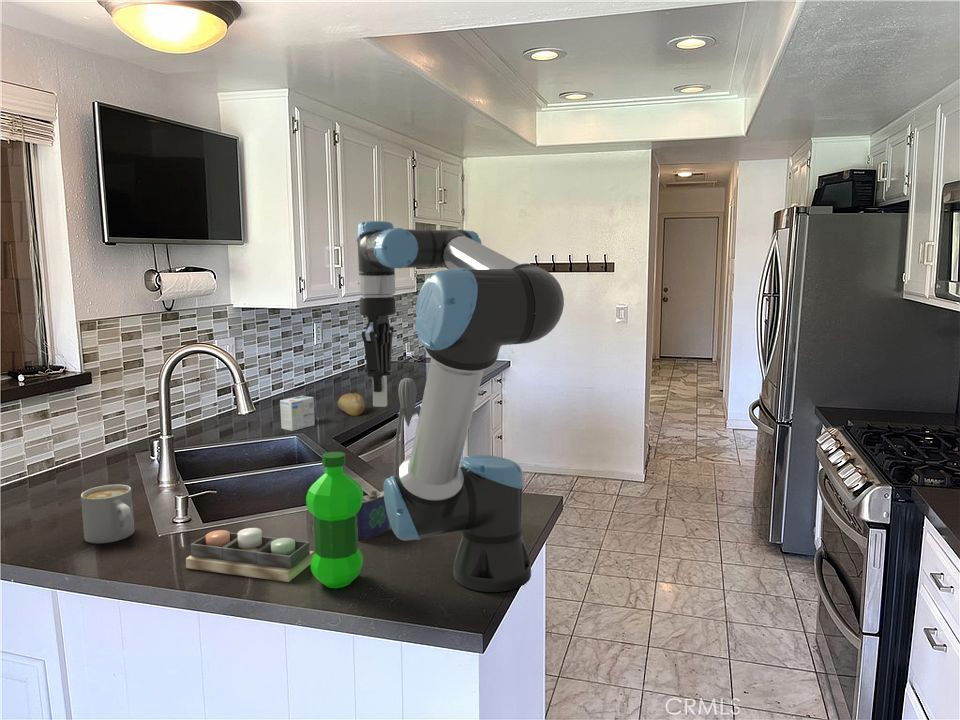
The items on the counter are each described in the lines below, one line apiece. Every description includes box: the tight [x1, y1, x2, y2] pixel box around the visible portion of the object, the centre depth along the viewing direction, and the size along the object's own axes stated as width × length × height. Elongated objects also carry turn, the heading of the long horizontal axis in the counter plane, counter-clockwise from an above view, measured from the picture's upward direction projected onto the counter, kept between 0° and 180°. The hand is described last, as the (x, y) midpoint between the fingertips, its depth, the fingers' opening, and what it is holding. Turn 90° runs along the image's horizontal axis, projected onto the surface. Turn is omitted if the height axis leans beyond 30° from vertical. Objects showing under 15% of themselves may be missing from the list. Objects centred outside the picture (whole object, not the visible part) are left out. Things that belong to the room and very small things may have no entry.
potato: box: [337, 392, 366, 417], centre depth 280 cm, size 10×15×8 cm, turn 33°
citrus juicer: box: [393, 377, 421, 477], centre depth 186 cm, size 11×10×30 cm
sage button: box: [271, 537, 296, 556], centre depth 139 cm, size 5×5×2 cm
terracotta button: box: [205, 529, 231, 547], centre depth 143 cm, size 5×5×2 cm
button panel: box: [185, 530, 315, 583], centre depth 142 cm, size 23×10×4 cm, turn 74°
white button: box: [236, 527, 263, 549], centre depth 141 cm, size 5×5×2 cm
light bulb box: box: [279, 395, 316, 432], centre depth 257 cm, size 11×7×11 cm, turn 144°
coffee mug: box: [80, 484, 135, 544], centre depth 156 cm, size 13×10×10 cm
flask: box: [357, 488, 391, 543], centre depth 156 cm, size 9×3×11 cm, turn 144°
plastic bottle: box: [305, 451, 364, 589], centre depth 132 cm, size 10×10×25 cm
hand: (380, 405), depth 151 cm, fingers closed
